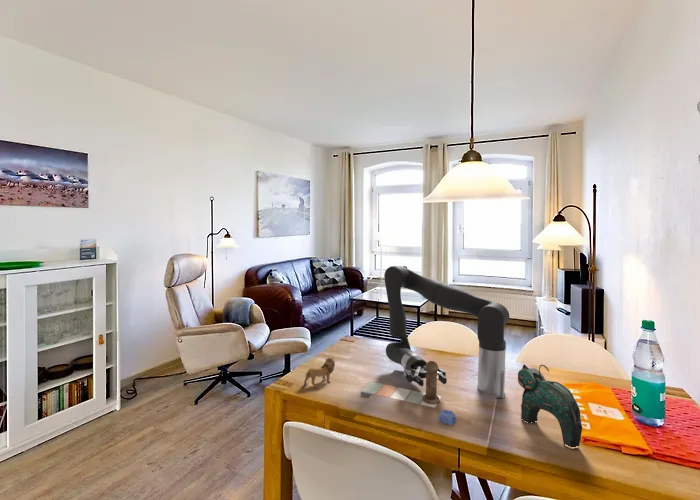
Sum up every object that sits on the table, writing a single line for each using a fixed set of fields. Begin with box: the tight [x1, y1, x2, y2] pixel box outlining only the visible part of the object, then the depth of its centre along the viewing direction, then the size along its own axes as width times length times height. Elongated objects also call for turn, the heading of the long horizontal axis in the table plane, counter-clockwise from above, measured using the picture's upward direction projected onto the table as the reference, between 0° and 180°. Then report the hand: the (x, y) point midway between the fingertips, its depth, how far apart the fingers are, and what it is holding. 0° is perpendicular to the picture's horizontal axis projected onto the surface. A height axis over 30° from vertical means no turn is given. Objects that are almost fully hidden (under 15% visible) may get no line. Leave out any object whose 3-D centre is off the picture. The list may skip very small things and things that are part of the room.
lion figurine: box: [303, 357, 336, 388], centre depth 144 cm, size 15×5×9 cm, turn 132°
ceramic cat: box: [517, 364, 583, 447], centre depth 111 cm, size 20×6×20 cm, turn 21°
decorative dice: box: [438, 409, 457, 426], centre depth 114 cm, size 4×4×4 cm
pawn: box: [422, 360, 440, 405], centre depth 127 cm, size 6×6×14 cm
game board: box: [360, 381, 442, 409], centre depth 132 cm, size 27×10×1 cm, turn 64°
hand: (434, 382), depth 125 cm, fingers open, 8 cm apart
